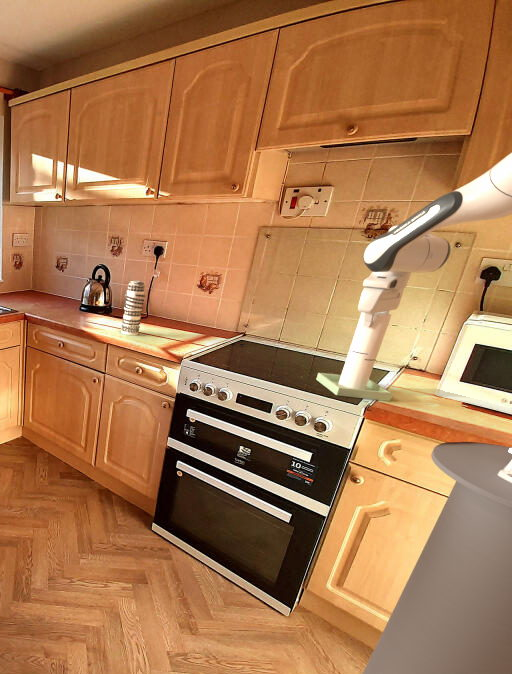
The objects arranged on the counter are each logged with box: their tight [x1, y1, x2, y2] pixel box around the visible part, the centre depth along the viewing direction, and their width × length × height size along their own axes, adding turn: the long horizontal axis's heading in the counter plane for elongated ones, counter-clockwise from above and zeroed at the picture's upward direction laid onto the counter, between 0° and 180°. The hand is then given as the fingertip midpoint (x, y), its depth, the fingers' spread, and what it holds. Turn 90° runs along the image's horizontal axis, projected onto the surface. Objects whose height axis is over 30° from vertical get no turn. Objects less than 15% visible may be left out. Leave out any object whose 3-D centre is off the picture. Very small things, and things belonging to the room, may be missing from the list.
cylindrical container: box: [338, 312, 392, 390], centre depth 136 cm, size 7×7×25 cm
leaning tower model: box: [120, 279, 146, 336], centre depth 203 cm, size 9×9×25 cm
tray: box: [315, 372, 394, 402], centre depth 140 cm, size 16×15×3 cm
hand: (372, 325), depth 133 cm, fingers closed on cylindrical container, 7 cm apart
